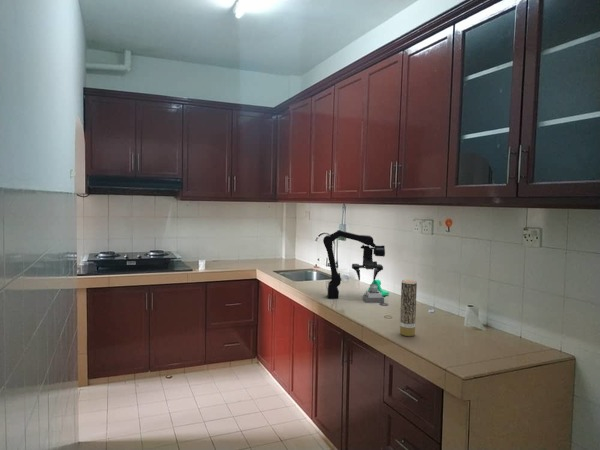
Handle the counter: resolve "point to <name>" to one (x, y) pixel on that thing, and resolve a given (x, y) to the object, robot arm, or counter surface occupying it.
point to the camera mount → (379, 287)
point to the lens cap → (383, 304)
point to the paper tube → (408, 307)
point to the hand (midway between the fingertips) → (366, 280)
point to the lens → (373, 288)
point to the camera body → (373, 297)
